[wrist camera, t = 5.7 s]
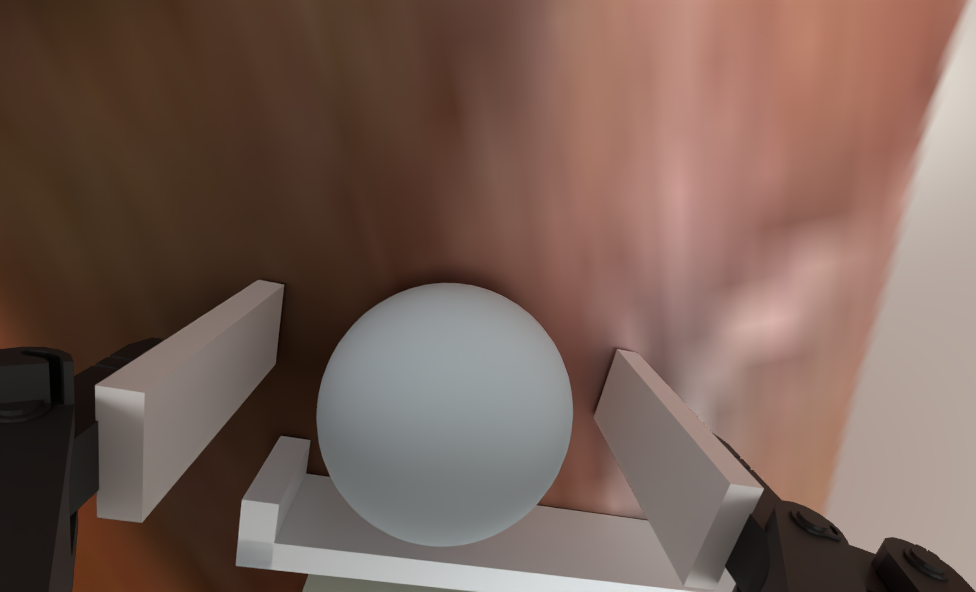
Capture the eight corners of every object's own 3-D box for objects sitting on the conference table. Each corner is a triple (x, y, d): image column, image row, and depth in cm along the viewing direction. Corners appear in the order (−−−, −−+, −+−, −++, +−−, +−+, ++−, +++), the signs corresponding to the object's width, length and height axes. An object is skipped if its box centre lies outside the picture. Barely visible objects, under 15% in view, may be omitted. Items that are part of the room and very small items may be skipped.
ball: (336, 422, 15) (259, 601, 9) (365, 238, 14) (293, 308, 7) (518, 450, 16) (559, 630, 10) (568, 281, 15) (653, 375, 8)
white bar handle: (273, 492, 16) (235, 565, 13) (280, 435, 15) (242, 499, 13) (726, 551, 19) (775, 623, 16) (749, 504, 18) (804, 571, 15)
